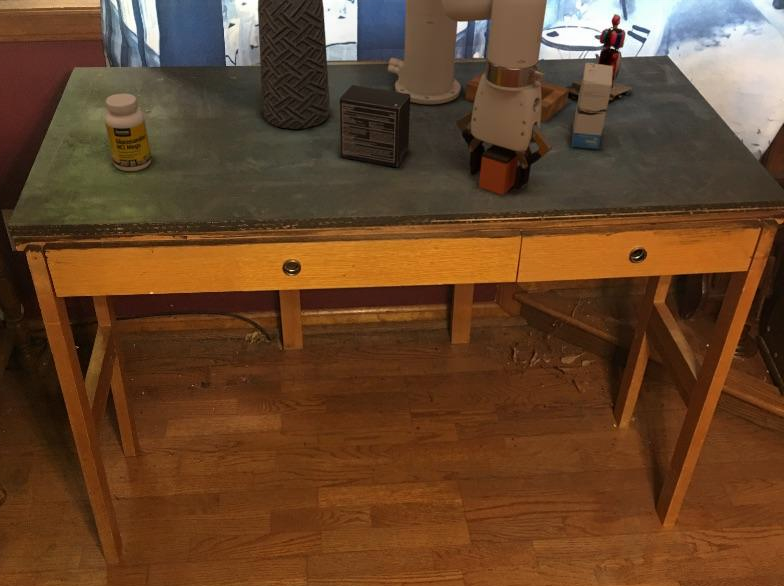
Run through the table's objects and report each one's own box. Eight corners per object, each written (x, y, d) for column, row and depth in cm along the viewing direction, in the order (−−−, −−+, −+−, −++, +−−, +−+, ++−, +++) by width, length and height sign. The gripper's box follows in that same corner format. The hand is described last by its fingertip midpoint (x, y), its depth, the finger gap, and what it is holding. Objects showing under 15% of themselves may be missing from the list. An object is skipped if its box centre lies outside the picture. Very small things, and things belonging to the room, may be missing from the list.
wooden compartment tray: (545, 122, 157) (547, 106, 155) (465, 99, 163) (466, 83, 161) (566, 104, 162) (569, 88, 160) (488, 82, 169) (490, 67, 167)
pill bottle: (119, 175, 140) (105, 110, 132) (109, 159, 144) (95, 95, 136) (156, 167, 142) (145, 103, 134) (146, 151, 146) (134, 88, 138)
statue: (589, 85, 172) (608, 5, 163) (629, 98, 167) (651, 17, 158) (558, 94, 165) (576, 11, 156) (599, 109, 160) (620, 24, 151)
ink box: (599, 150, 149) (613, 84, 141) (570, 147, 150) (582, 81, 142) (600, 128, 155) (613, 64, 147) (572, 125, 156) (584, 61, 148)
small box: (410, 151, 148) (412, 92, 140) (398, 169, 143) (400, 108, 136) (352, 141, 150) (352, 82, 143) (339, 157, 145) (338, 98, 138)
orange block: (478, 187, 139) (482, 153, 135) (491, 176, 142) (495, 142, 138) (502, 195, 138) (507, 161, 133) (515, 184, 140) (519, 150, 136)
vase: (251, 122, 154) (235, -48, 135) (282, 96, 162) (271, -68, 143) (312, 135, 151) (305, -37, 132) (340, 108, 159) (337, -58, 140)
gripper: (575, 77, 126) (556, 185, 138) (472, 49, 133) (462, 155, 145) (553, 94, 121) (535, 205, 133) (447, 65, 128) (439, 173, 140)
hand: (497, 178), depth 139 cm, fingers open, 7 cm apart
